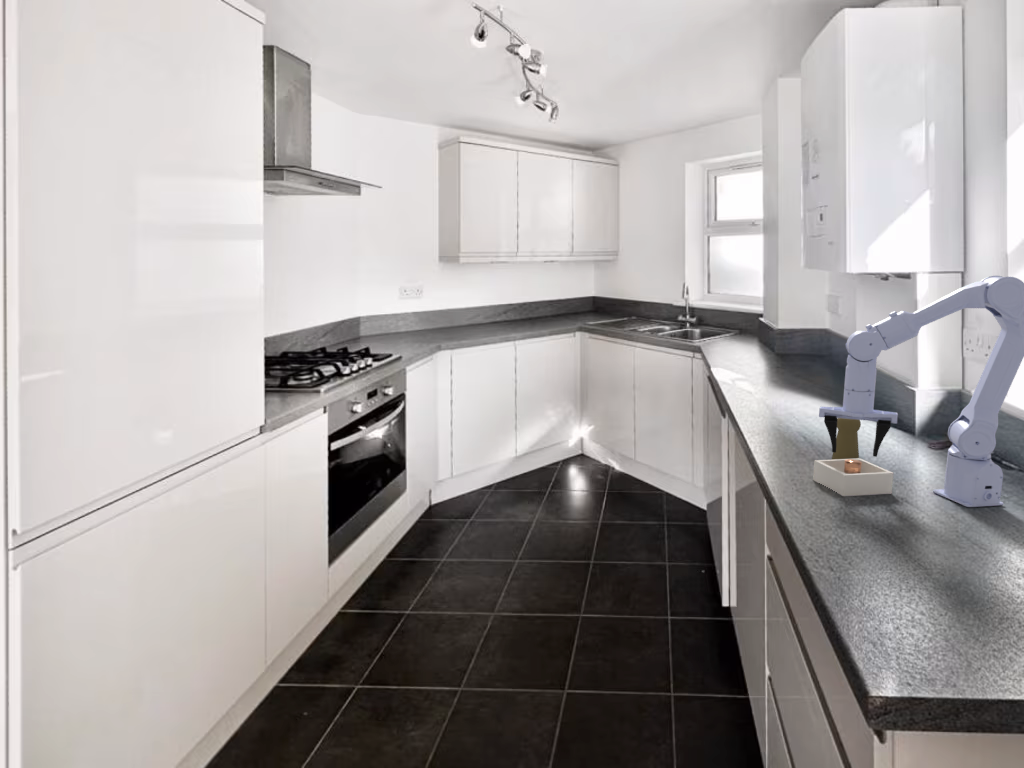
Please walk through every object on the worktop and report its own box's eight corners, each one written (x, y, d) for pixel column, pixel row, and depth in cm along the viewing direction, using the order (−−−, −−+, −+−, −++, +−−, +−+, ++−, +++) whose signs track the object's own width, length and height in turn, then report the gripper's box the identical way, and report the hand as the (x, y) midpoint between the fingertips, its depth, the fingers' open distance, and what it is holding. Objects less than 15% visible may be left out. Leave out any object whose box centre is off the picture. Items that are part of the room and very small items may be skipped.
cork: (835, 456, 170) (838, 412, 168) (862, 461, 167) (866, 416, 165) (828, 462, 166) (831, 417, 164) (855, 467, 162) (859, 420, 160)
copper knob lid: (885, 490, 144) (887, 466, 143) (844, 492, 143) (846, 468, 142) (857, 476, 153) (859, 454, 152) (818, 478, 152) (820, 456, 151)
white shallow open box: (891, 493, 144) (893, 472, 143) (843, 496, 142) (844, 475, 141) (852, 474, 156) (854, 455, 155) (807, 477, 155) (809, 457, 154)
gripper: (820, 389, 144) (815, 453, 147) (900, 395, 138) (894, 462, 140) (821, 384, 150) (817, 445, 153) (898, 389, 144) (893, 453, 146)
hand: (854, 453), depth 147 cm, fingers open, 7 cm apart
